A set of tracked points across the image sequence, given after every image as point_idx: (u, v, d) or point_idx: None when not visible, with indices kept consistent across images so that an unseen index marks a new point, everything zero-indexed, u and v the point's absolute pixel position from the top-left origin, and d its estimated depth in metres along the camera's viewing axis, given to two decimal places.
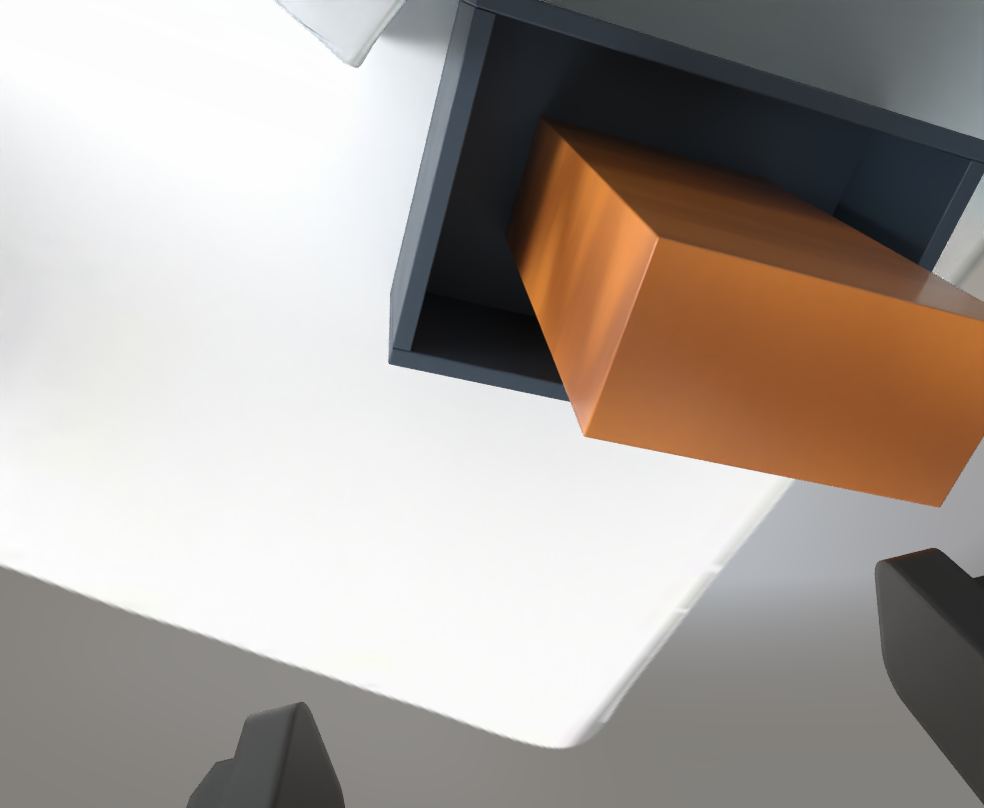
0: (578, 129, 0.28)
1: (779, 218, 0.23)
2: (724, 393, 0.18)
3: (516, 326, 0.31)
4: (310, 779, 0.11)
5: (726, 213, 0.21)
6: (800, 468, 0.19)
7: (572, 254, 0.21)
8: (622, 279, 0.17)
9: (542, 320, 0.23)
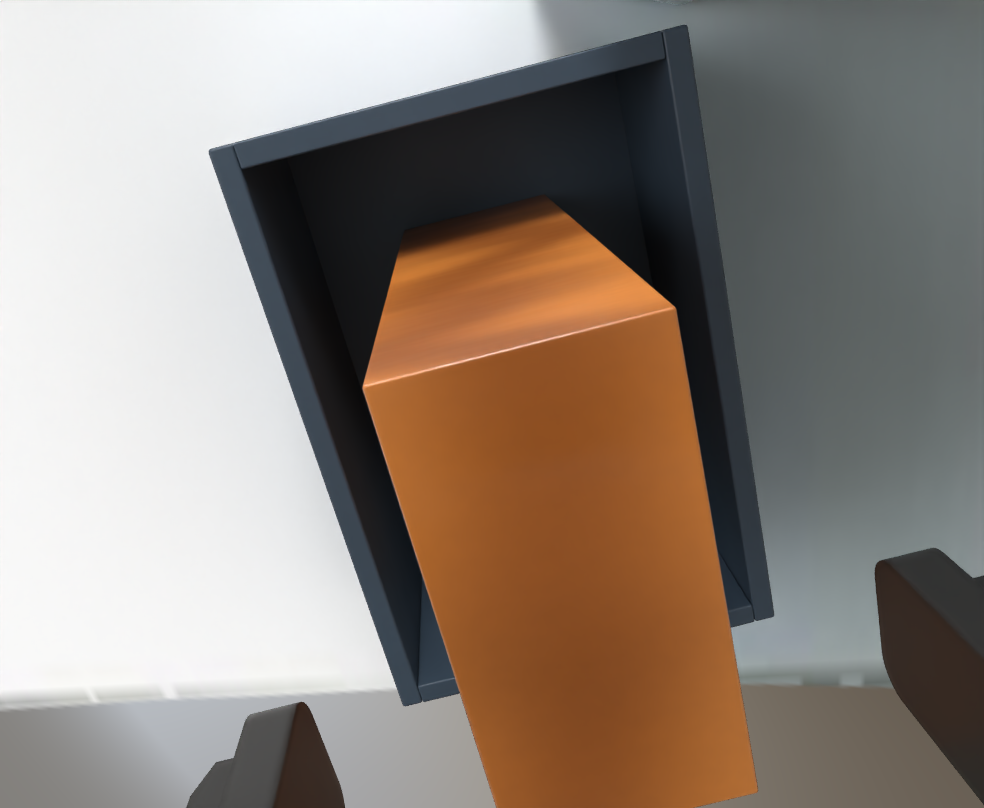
0: None
1: None
2: (520, 519, 0.12)
3: (321, 296, 0.25)
4: (310, 780, 0.11)
5: None
6: (472, 673, 0.13)
7: (503, 269, 0.16)
8: (576, 310, 0.12)
9: (396, 289, 0.17)
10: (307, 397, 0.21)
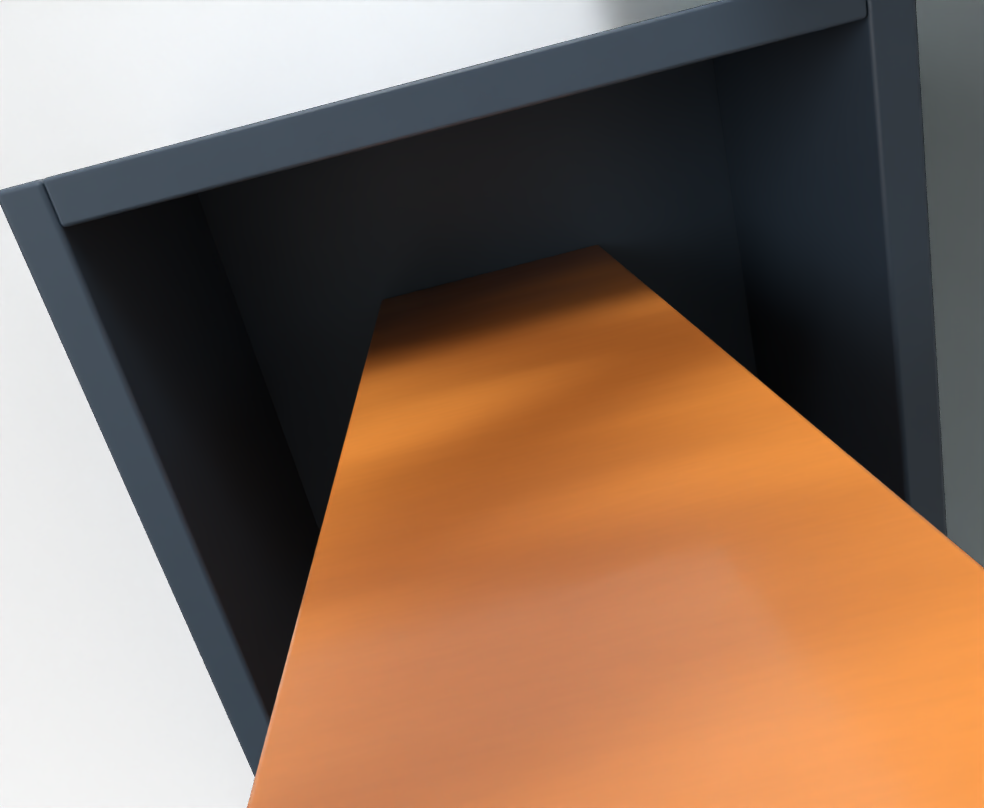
0: None
1: None
2: None
3: (250, 408, 0.16)
4: None
5: None
6: None
7: (578, 467, 0.07)
8: None
9: (349, 487, 0.08)
10: (205, 617, 0.12)
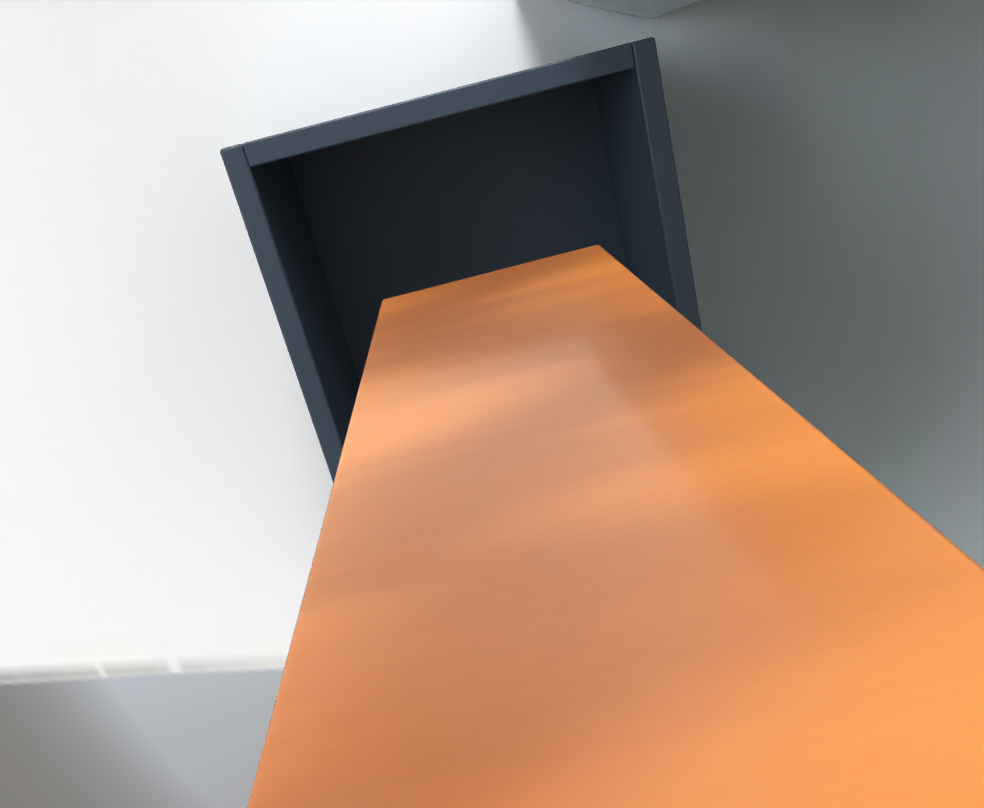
0: None
1: None
2: None
3: (320, 287, 0.26)
4: None
5: None
6: None
7: (578, 465, 0.08)
8: None
9: (349, 486, 0.08)
10: (309, 377, 0.23)
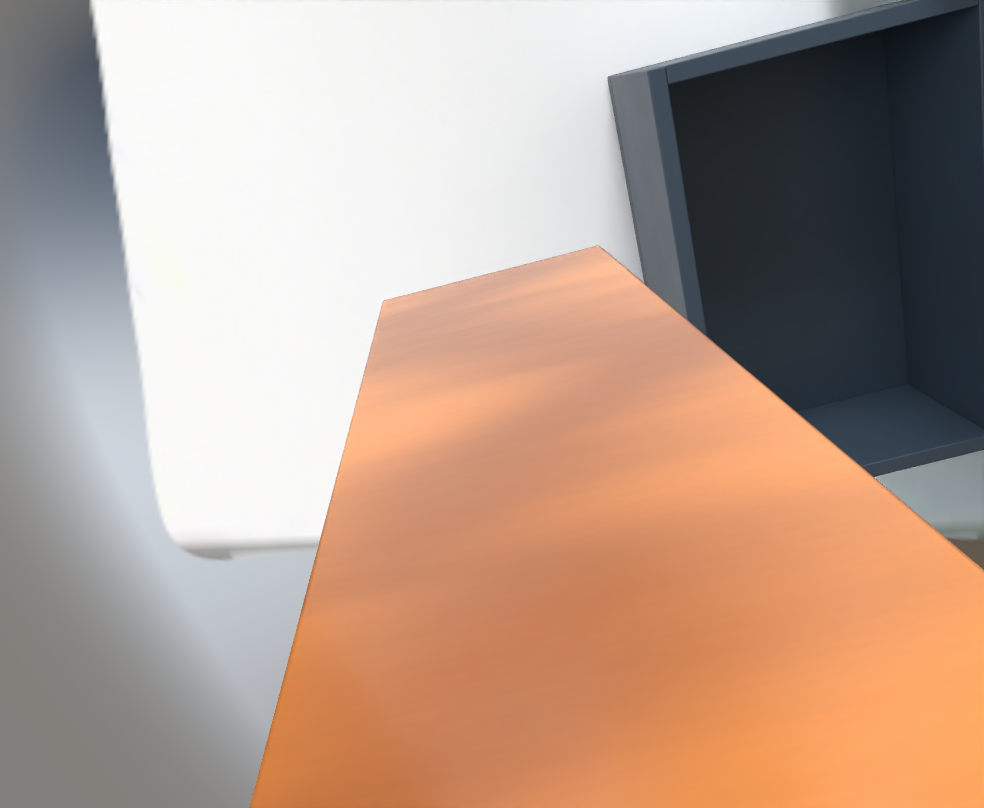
0: None
1: None
2: None
3: None
4: None
5: None
6: None
7: (579, 469, 0.07)
8: None
9: (350, 488, 0.08)
10: (687, 260, 0.28)
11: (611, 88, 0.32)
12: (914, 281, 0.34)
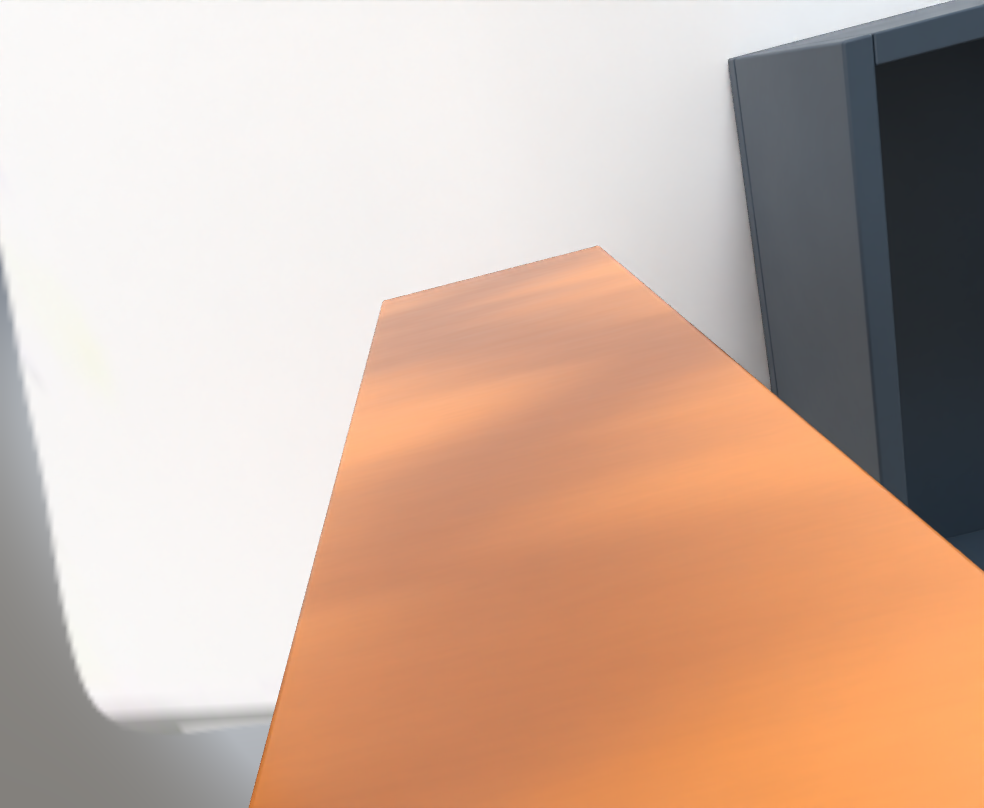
0: None
1: None
2: None
3: None
4: None
5: None
6: None
7: (579, 469, 0.08)
8: None
9: (350, 489, 0.08)
10: (885, 349, 0.18)
11: (735, 77, 0.21)
12: None
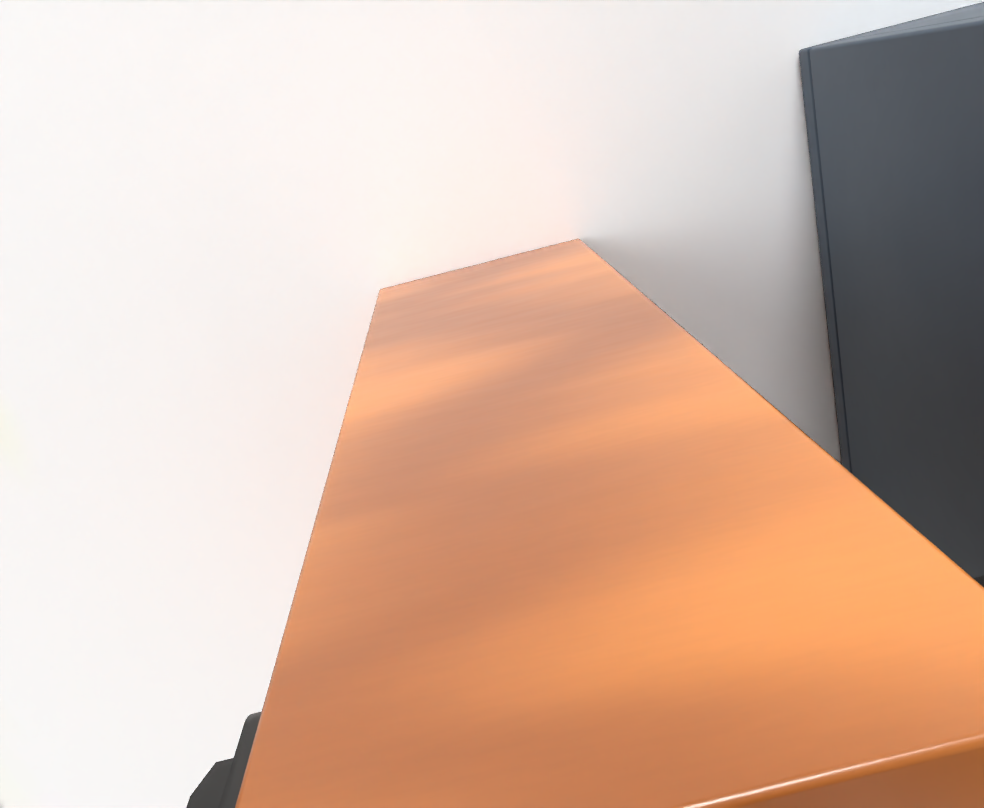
0: None
1: None
2: None
3: None
4: None
5: None
6: None
7: (547, 417, 0.09)
8: (777, 636, 0.05)
9: (353, 438, 0.10)
10: None
11: (809, 72, 0.17)
12: None
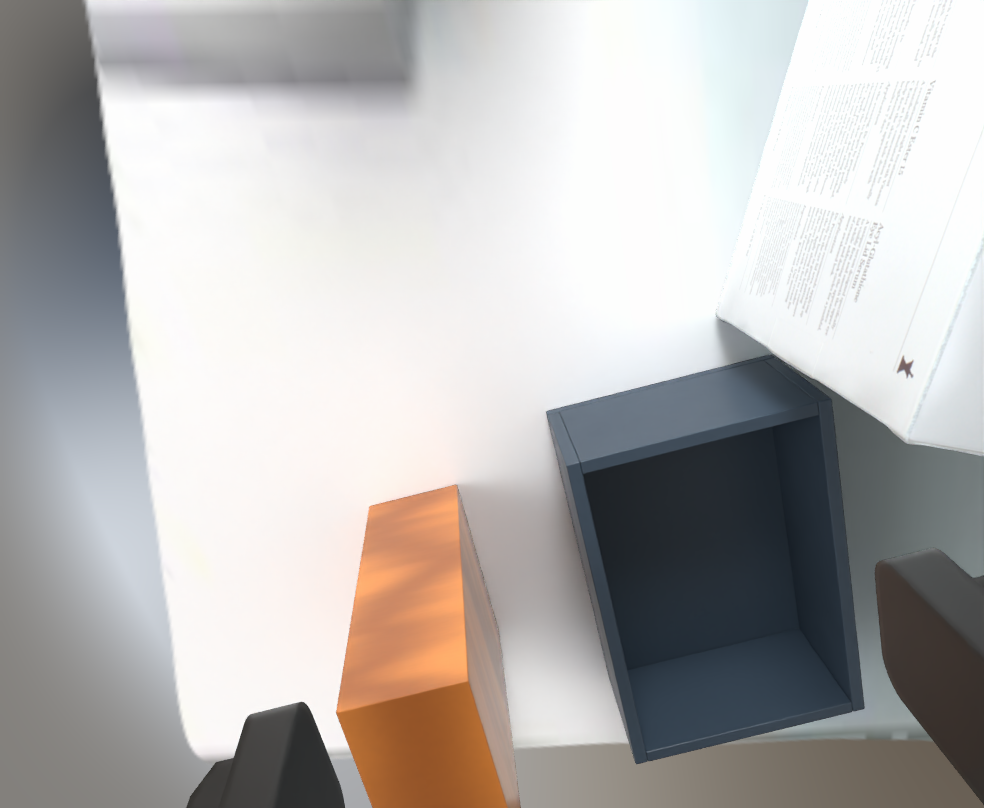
0: (463, 515, 0.41)
1: (494, 686, 0.35)
2: (406, 762, 0.28)
3: None
4: (311, 779, 0.11)
5: (484, 667, 0.33)
6: None
7: (411, 603, 0.32)
8: (431, 668, 0.28)
9: (358, 605, 0.33)
10: (602, 590, 0.36)
11: (549, 422, 0.40)
12: (797, 560, 0.42)
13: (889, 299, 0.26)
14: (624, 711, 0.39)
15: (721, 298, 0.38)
